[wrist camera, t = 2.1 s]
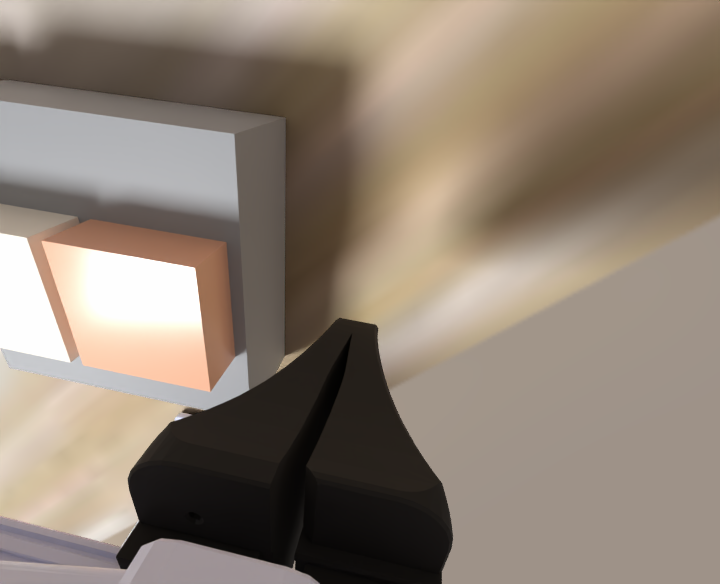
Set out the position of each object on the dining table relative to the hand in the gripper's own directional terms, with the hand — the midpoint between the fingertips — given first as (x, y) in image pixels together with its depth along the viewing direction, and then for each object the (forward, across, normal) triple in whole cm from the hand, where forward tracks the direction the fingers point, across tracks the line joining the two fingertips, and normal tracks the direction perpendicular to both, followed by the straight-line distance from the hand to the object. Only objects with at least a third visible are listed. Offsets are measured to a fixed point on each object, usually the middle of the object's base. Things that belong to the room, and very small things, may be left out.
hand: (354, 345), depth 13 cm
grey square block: (+6, +10, 0) cm, 12 cm away
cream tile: (+1, +13, 0) cm, 13 cm away
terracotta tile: (+1, +7, 0) cm, 7 cm away
